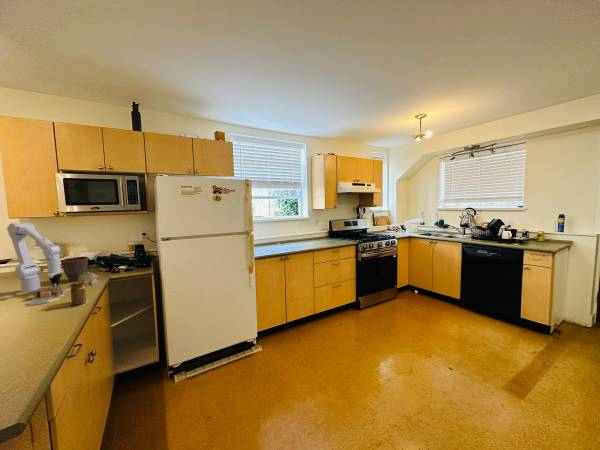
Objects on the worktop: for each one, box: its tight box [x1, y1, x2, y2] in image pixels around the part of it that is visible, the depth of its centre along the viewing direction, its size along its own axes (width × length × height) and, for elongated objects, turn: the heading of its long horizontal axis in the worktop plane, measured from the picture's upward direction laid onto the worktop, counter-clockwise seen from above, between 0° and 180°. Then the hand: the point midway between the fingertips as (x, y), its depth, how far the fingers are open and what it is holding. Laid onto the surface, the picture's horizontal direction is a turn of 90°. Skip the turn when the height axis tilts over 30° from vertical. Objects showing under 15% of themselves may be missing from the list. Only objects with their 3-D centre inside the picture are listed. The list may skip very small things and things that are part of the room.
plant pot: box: [60, 256, 89, 283], centre depth 180 cm, size 15×15×16 cm
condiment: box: [66, 281, 90, 309], centre depth 136 cm, size 7×8×12 cm
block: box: [40, 290, 54, 298], centre depth 144 cm, size 4×4×4 cm
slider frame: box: [28, 283, 64, 306], centre depth 145 cm, size 23×7×5 cm, turn 27°
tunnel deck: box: [21, 285, 71, 308], centre depth 147 cm, size 26×14×6 cm, turn 27°
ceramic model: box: [78, 271, 102, 288], centre depth 168 cm, size 14×11×10 cm
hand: (56, 286), depth 156 cm, fingers closed
